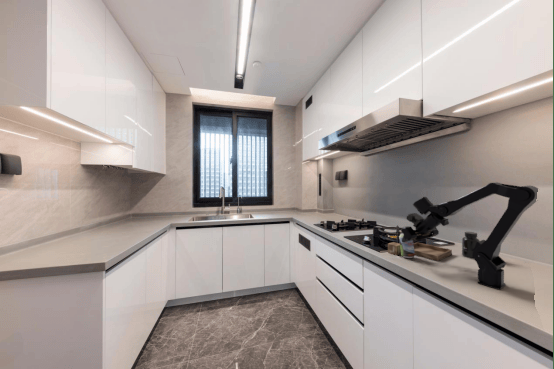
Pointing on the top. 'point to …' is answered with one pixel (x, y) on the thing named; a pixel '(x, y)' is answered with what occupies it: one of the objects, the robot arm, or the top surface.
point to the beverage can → (407, 248)
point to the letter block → (394, 248)
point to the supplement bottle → (469, 243)
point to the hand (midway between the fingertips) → (409, 240)
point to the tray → (431, 251)
